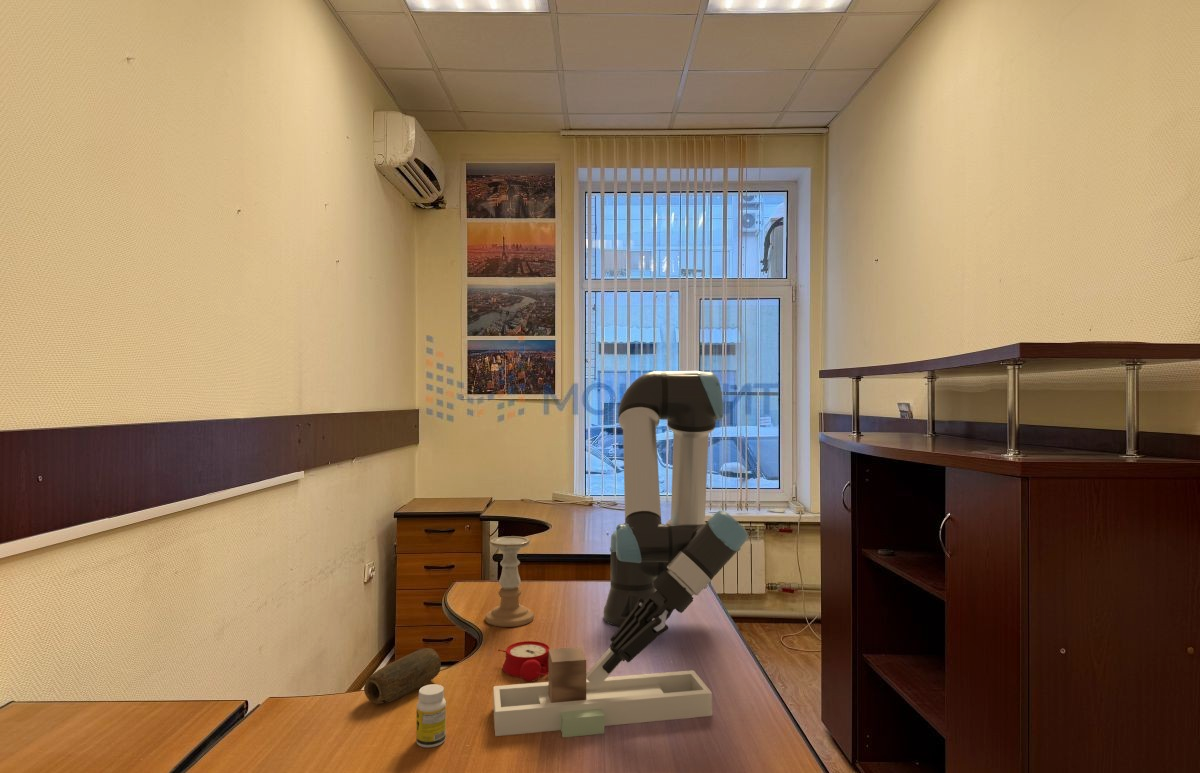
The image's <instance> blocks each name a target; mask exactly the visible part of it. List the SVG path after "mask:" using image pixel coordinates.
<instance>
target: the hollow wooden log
mask: <svg viewBox="0 0 1200 773" xmlns="http://www.w3.org/2000/svg"><path fill="white" fill-rule="evenodd" d="M441 664H442V663H441V658H440V656H439V654H438V652H437V651H436V650H435V649H434V648H431V647H425V648H420V649H417V650H416V651H414V652H412V653H409V654H407V655H405V656H402V657H401V658H398V659H396V660H394V661H392V662H391V663H389V664H387V665H385V666H383V667H382V668H380V669H378V670H377V671H375V672H373V673H372V674H371V675H370V676H369V677H368V678H367V679H366V681H365V682H364V686H363V691H364V695H365V697H366V698H367V699H368V700H369V701H370V702H372V703H374V704H375V705H381V704H387V703H390V702H393V701H394V700H397V699H399V698H402V697H404V696H406V695H408V694H410V693H411V692H413V691H415V690H418V689H419V688H422V687H423V686H425V685H427V683H429V682H431V681H433V679H435V678H436V677H437V676H438V675H439V673H440V671H441V667H442V665H441Z"/></svg>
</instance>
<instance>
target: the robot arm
mask: <svg viewBox="0 0 1200 773" xmlns="http://www.w3.org/2000/svg"><path fill="white" fill-rule="evenodd" d="M722 393H723V392H722V388H721V383H720V380H719V378H718V376H717V375H716V373H714V372H711V371H699V370H688V371H687V370H684V371H683V370H680V371H679V370H678V371H676V370H675V371H672V370H671V371H661V370H657V371H656V370H655V371H649V372H647V373H644V374H643V375H641V376H639V377H637V378H636V379H634V381H633V382H632V383H631V384H630V385H629V386H628V388H627V389H626V391H625V392H624V394H623V396H622V398H621V400H620V402H619V408H618V425H619V427H620V428H621V429H622V439H623V440H622V441H623V442H622V443H623V478H624V479H623V485H624V486H623V488H624V523H620V524H618V525H617V526H616V527H615V531H613V532H612V534H611V537H610V548H609V553H610V587H609V588H610V589H609V593H608V595H607V599H606V603H605V605H604V607H603V620H604V621H605V622H606V623H608V624H610V625H612V626H615V627H618V628H617V629H616V631H615V632H614V634H613V635H612V636H611V637H610V641H611V643H610V645H609V648H608V649H607V650H606V651H605V652H604V654H603V655H601V656H600V658H599V659H598V660H597V661H596V663H594V664H593V666H592V667H591V668H590V669H589V670H588V671H586V679H587V680H588V681H589V682H590V683H592V684H593V685H594V686H595V687H596V688H598V687H599V686H600V685H601V683H602V682H603V681H604V680H605V679H606V678H607V677H610V675H611V673H612V672H613V671H614V670H615V669H616V668H617V666H619V664H621V663H622V662H627V663H630V662H631V661H632V660H633V659H635V658H636V657H637V656H638V655H639V654H640V653H641V652H642V651H644V649H645V648H646V647H648V646H649V645H650V644H651V643H652V642H653V641H654V640H655V639H657V637H659V636H660V635H663V633H665V632H667V630H669V626H668V625H667V624H666V621H668V619H669V618H670V617H671V615H672V613H673V612H674V611H675V610H676V611H677V612H678V613H679V614H682V613H684V611H685V610H686V609H687V608H688V607H689V606H690V605H691V604H692V603H693V601H694V597H693V596H699V594H700V593H701V592H702V591H703V589H707V588H708V584H709V583H710V582H711V581H712V580H713V579H714V577H715V576H716V575H717V574H718V573H719V572H720V571H721V570H722V569H723V568H724V566H726V565H727V563H729V561H730V560H731V559H732V558H733V556H735V555H736V554H737V552H739V551H740V550H741V548H742V547H743V545H744V544H745V543H746V542H747V540H748V538H749V534H748V532H747V530H746V529H745V527H744V526H742V525H741V524H740V523H739V521H738V520H736V519H735V518H734V517H733V516H732V515H730V514H729V513H727V512H726V511H724V510H719V511H716V513H714V514H713V515H712V517H710V518H709V519H708V520H707V522H706V502H707V501H706V500H707V480H708V478H707V476H708V458H709V456H708V454H709V436H710V435H709V434H711V433H712V432H713V431H714V430H715V428H716V421H720V420H722V419H723V418H724V402H723V395H722ZM660 420H664V421H665V420H667V427H668V428H669V429H670V430H671V432H673V436H672V437H673V440H672V443H673V444H672V472H671V475H672V476H671V503H670V504H671V507H670V508H671V509H670V519H669V520H668V521H666V523H665V524H664V523H662V512H661V497H660V496H661V494H660V493H661V492H660V479H659V475H660V474H659V460H658V445H657V444H658V443H657V442H658V441H657V427H658V426H659V424H660Z"/></svg>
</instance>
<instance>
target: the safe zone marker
mask: <svg viewBox="0 0 1200 773" xmlns="http://www.w3.org/2000/svg"><path fill="white" fill-rule="evenodd" d="M560 731H561V735H562V738H571V737H572V738H573V737H582V736H592V735H602V734H605V726H604V713H603V711H602V709H591V710H579V711H568V712H561V730H560Z"/></svg>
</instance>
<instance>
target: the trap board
mask: <svg viewBox="0 0 1200 773" xmlns="http://www.w3.org/2000/svg"><path fill="white" fill-rule="evenodd" d="M548 685H549V681H543V682H542V681H541V682H529V683H528V682H527V683H517V684H506V685H494V686H493V699H492V700H493V702H492V703H493V708H492V709H493V723H494V724H493V726H494V736H495V737H501V736H512V735H523V734H533V733H542V732H543V733H544V732H555V731H561V712H568V711H579V710H591V709H602V711H603V713H604V727H608V726H618V725H627V724H630V725H631V724H638V723H641V724H642V723H651V722H661V721H672V720H682V719H692V718H704V717H712V716H713V692H712V691H711V690H710V688H708V686H707V685H706V684H705V682H704V681H703V680H702V678H700V677H699V675H698V674H697V673H696V671H695V670H694V669H693V670H681V671H680V670H679V671H669V672H667V671H666V672H654V673H642V674H641V673H640V674H630V675H615V676H608V677H607V678H606V679H605V680H604V681H603V682H602V683H601V685H600V686H599V687H598V688H596V687H595V686H594V685H593V684H592V683H590V682H589V681H588V680H587V679H586V700H579V701H568V702H556V703H551V702H550V698H549V694H548Z"/></svg>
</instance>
